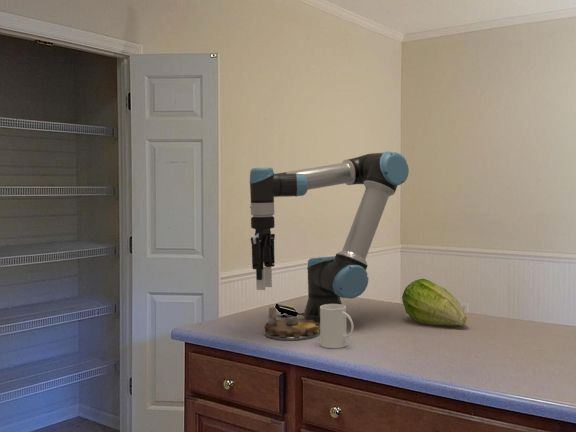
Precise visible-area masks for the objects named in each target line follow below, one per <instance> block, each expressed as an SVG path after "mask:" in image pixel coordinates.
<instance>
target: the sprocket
mask: <svg viewBox="0 0 576 432" xmlns="http://www.w3.org/2000/svg"><path fill="white" fill-rule="evenodd" d="M319 329H320V323H318V322H316V323H315V321H314V320H304V318H300V317H299V318H290V317H289V318H288V317H287V318H284V319H277V307H275V306H272V307H269V308H268V322H265V325H264V333H265V332H269V335H272V336H273V335H279V337H286V336H294V337H300V336H303V335H307V336H309V335H313V333H314V332H315V333H318V332H319Z"/></svg>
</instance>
